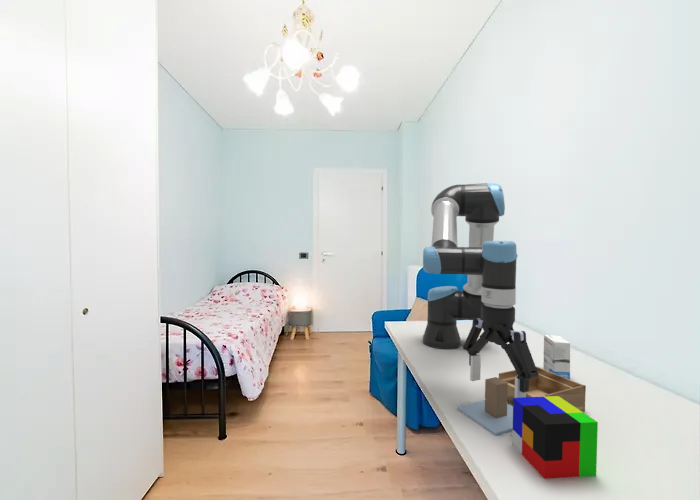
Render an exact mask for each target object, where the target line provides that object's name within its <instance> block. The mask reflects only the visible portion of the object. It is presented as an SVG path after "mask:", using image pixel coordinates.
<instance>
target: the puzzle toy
mask: <svg viewBox="0 0 700 500" xmlns="http://www.w3.org/2000/svg"><path fill="white" fill-rule="evenodd" d="M512 407H513V431H512V435H511V436H512V439H511V440H512V441H511V442H512V444H511V445H512V446H513V447H514V448H515V449H516V450H517V452H519V453H520V455H522V457H523V459H525V460H526V461H527V462H528V463H529V464H530V466H532V468H534V469H535V471H536V472H537V473H538V474H539V475H540V476H541V477H542V478H543V479H544V480H547V479H565V478H566V479H567V478H582V477H597V465H598V463H597V462H598V461H597V459H598V458H597V457H598V455H597V454H598V430H599V429H598V427H599V426H598V424H599V423H598V421H597V420H595V419H594V418H592V417H590V416H589V415H588V414H586V413H584V412H582V411H580V410H579V409H577V408H576V407H574V406H573V405H571V404H570V403H568V402H567V401H565V400H564V399H562V398H561V397H559V396H548V397H521V398H513V405H512Z"/></svg>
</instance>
